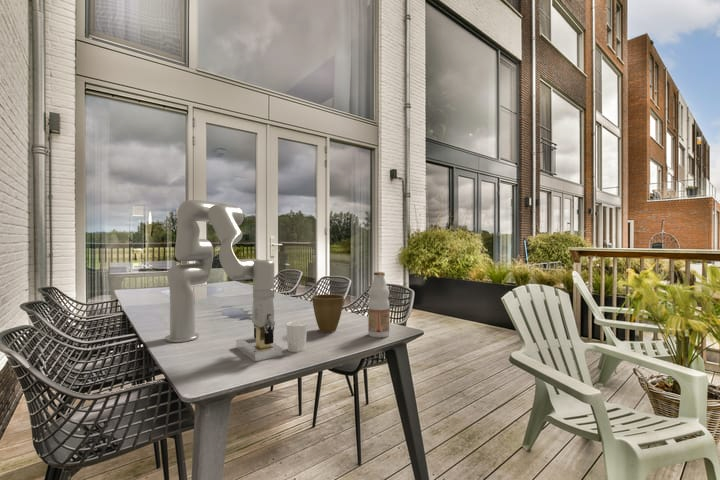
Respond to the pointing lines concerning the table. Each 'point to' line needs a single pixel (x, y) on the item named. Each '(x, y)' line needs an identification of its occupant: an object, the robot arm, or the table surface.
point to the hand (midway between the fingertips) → (263, 340)
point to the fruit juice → (378, 307)
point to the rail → (257, 355)
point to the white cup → (296, 336)
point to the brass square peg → (261, 338)
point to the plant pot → (327, 311)
